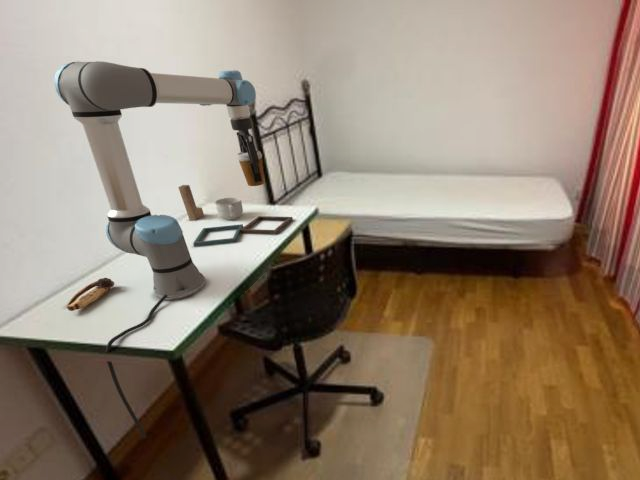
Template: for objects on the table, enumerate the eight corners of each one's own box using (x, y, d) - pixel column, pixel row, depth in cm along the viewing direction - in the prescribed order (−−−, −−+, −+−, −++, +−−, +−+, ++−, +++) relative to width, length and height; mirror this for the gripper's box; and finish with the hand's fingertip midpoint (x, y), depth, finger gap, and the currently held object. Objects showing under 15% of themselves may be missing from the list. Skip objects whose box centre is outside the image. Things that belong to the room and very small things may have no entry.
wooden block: (195, 220, 201) (184, 187, 193) (189, 220, 202) (177, 187, 194) (204, 215, 207) (193, 182, 199) (198, 215, 207) (187, 182, 199)
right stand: (276, 234, 183) (275, 231, 182) (240, 233, 186) (239, 229, 185) (293, 220, 196) (292, 216, 195) (259, 219, 199) (258, 216, 198)
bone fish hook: (98, 286, 152) (54, 314, 137) (92, 274, 149) (46, 301, 134) (122, 286, 150) (80, 314, 135) (116, 274, 148) (73, 301, 133)
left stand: (236, 242, 178) (235, 238, 177) (194, 246, 176) (193, 243, 175) (243, 227, 191) (242, 224, 190) (204, 231, 189) (203, 228, 189)
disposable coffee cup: (272, 180, 184) (265, 149, 178) (262, 187, 176) (255, 155, 170) (249, 180, 185) (242, 150, 179) (239, 187, 177) (231, 156, 171)
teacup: (220, 215, 205) (215, 198, 201) (245, 211, 208) (241, 194, 204) (219, 225, 194) (213, 207, 190) (245, 222, 197) (240, 204, 192)
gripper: (259, 119, 162) (272, 182, 174) (242, 113, 177) (256, 172, 189) (237, 122, 158) (253, 186, 170) (223, 116, 173) (238, 175, 185)
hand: (254, 179), depth 179 cm, fingers closed on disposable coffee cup, 8 cm apart
